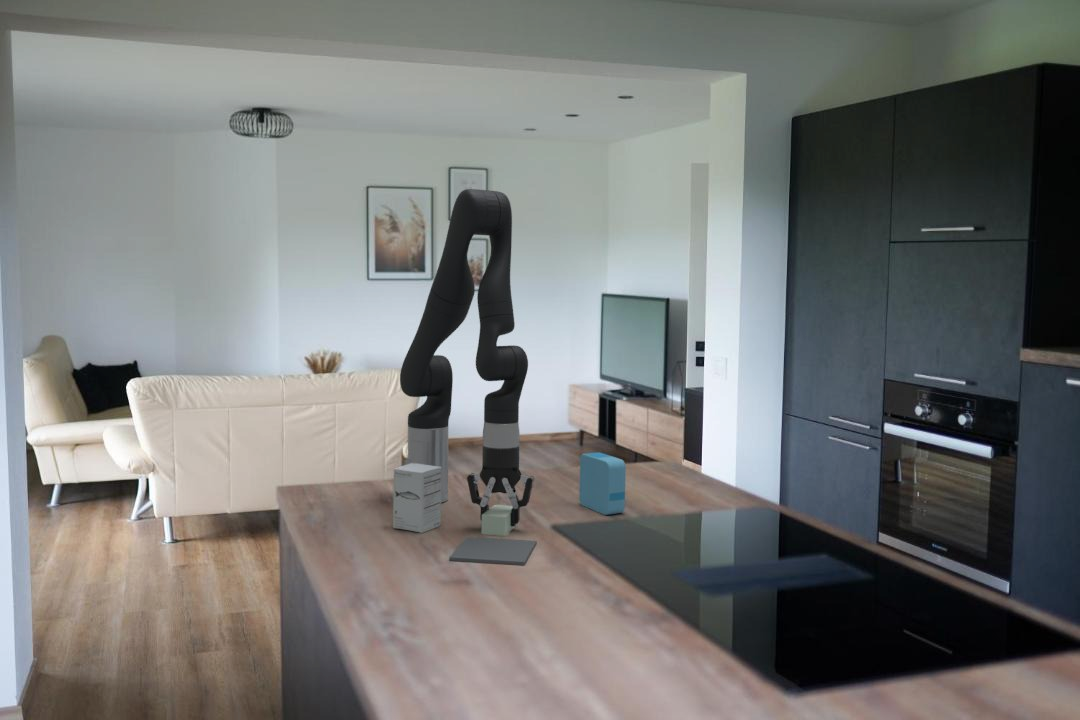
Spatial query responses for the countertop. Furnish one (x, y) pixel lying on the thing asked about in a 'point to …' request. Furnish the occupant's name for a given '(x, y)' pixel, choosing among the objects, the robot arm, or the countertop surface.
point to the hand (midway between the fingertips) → (500, 524)
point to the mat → (493, 551)
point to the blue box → (602, 483)
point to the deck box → (497, 520)
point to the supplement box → (417, 497)
